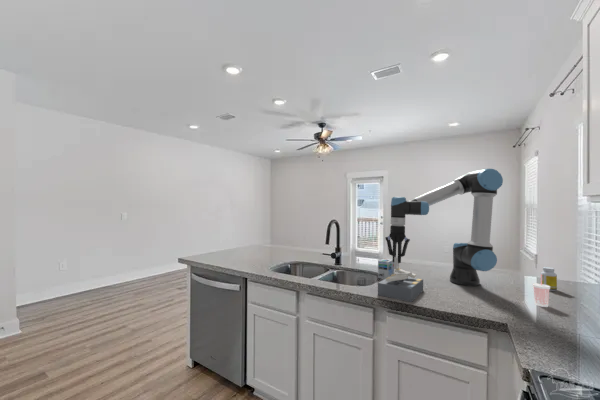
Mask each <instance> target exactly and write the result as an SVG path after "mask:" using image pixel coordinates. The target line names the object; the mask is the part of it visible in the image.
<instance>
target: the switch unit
mask: <svg viewBox="0 0 600 400" xmlns="http://www.w3.org/2000/svg"><path fill="white" fill-rule="evenodd" d="M389 277H390V276H389ZM387 278H388V277H387ZM423 291H424V279H423V278H419V277H415V278H412V277H409V276H408V278H407V279H403V280H396V281H388V282H386V279H382V280H380V281H378V283H377V295H378V296H381V297H384V298H386V297H387V298H391V299H395V300H400V301H405V302H410V303H411V302H412V301H414V300H415V299H416V298H417V297H418V296H419V295H420V294H421V293H422V292H423Z"/></svg>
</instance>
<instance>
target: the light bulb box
mask: <svg viewBox="0 0 600 400" xmlns="http://www.w3.org/2000/svg"><path fill="white" fill-rule="evenodd" d="M377 261H378V263H377V265H378V266H377V269H378V270H377V274H378V275H377V278H378V279H382V280H384V279H386V278H387V277H389V276H391V275H393V274H395V269H394V262H393V258H386V257H385V258H382V259H379V260H377Z"/></svg>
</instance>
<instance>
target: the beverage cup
mask: <svg viewBox="0 0 600 400" xmlns="http://www.w3.org/2000/svg"><path fill="white" fill-rule="evenodd" d="M532 287H533V295H534V297H533V298H534V305H536V306H537V307H543V308H548V307H549V300H550V291H549V289H550V286H548V285H544V284H542V274H541V273H540V283H537V282H536V283H532Z"/></svg>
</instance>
